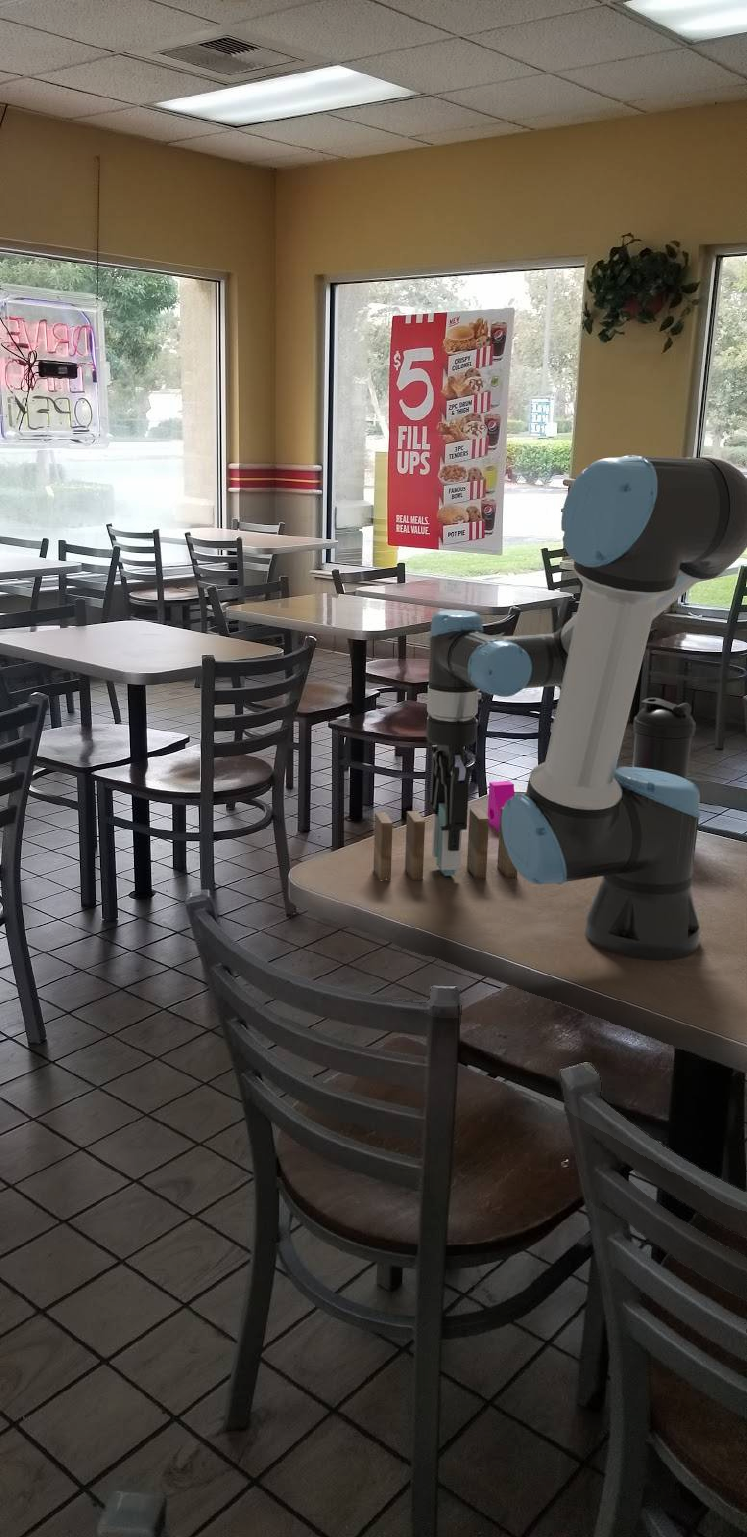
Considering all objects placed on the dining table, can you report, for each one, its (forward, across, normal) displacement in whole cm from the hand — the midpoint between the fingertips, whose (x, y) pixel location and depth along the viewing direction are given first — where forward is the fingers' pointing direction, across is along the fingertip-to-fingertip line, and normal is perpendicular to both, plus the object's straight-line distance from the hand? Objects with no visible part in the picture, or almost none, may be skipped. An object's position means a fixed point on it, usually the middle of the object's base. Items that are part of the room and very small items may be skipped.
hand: (445, 862), depth 185 cm
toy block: (+3, +17, -18) cm, 25 cm away
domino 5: (+2, 0, -10) cm, 10 cm away
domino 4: (+2, 0, -5) cm, 6 cm away
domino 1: (+2, 0, +10) cm, 10 cm away
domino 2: (+2, 0, +5) cm, 6 cm away
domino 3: (+1, 0, 0) cm, 1 cm away
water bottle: (+3, +16, -42) cm, 45 cm away
